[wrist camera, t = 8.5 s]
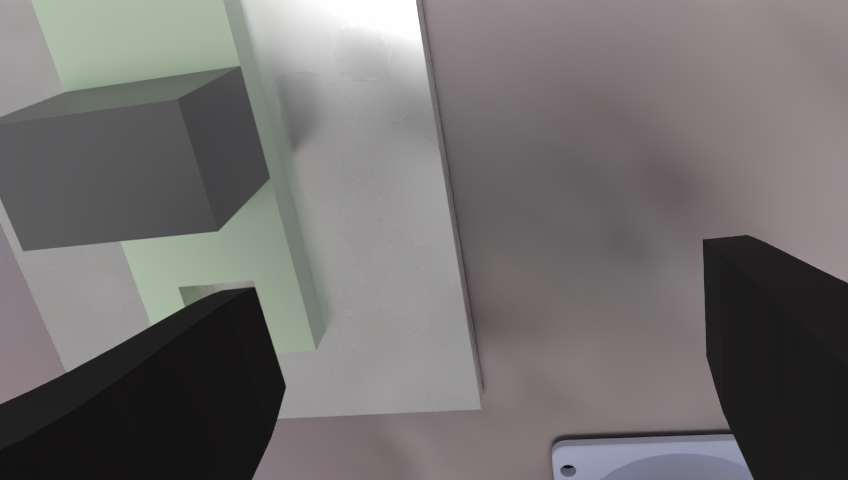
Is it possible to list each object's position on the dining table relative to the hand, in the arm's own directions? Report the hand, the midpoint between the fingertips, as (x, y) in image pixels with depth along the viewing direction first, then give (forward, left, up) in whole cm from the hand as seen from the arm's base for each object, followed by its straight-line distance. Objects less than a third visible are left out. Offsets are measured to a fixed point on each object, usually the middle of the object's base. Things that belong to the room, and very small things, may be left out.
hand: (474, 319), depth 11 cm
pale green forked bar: (+2, +9, -8) cm, 12 cm away
